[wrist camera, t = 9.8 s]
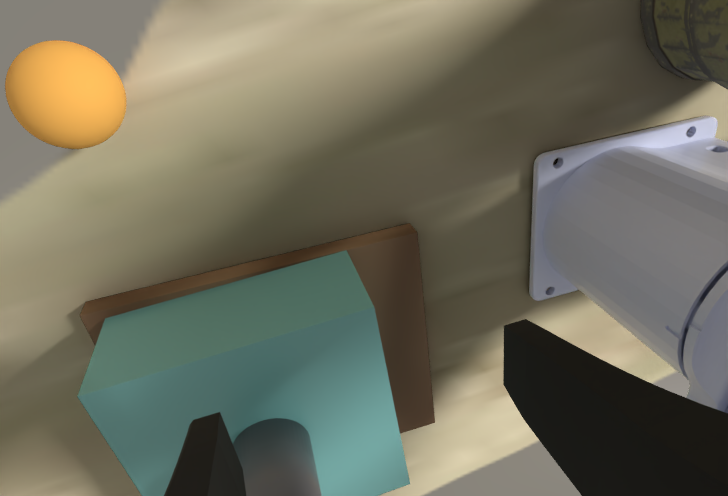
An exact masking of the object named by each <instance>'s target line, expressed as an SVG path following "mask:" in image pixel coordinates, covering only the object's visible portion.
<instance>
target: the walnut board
mask: <svg viewBox="0 0 728 496" xmlns="http://www.w3.org/2000/svg"><path fill="white" fill-rule="evenodd" d="M345 250H347V252H348V254H349V256H350V258H351V260H352V262H353V265H354V267H355V269H356V271H357V273H358V275H359V277H360V279H361V281H362V283H363V285H364V287H365V289H366V291H367V293H368V295H369V297H370V299H371V301H372V303H373V305H374V308H375V313H376V318H377V323H378V328H379V333H380V338H381V343H382V348H383V353H384V358H385V363H386V367H387V372H388V377H389V382H390V387H391V392H392V397H393V402H394V407H395V412H396V417H397V422H398V427H399V432H400V433H403V432H406V431H409V430H413V429H416V428H419V427H422V426H425V425H429V424H432V423H435V418H434V408H433V397H432V386H431V375H430V364H429V353H428V343H427V332H426V321H425V310H424V299H423V288H422V278H421V267H420V256H419V245H418V234H417V231H416V230H415V229H414V228H413V227H412V225H411V224H410V223H408V224H404V225H400V226H396V227H392V228H388V229H384V230H380V231H375V232H371V233H367V234H363V235H359V236H355V237H351V238H347V239H343V240H338V241H334V242H330V243H326V244H322V245H318V246H314V247H310V248H305V249H301V250H297V251H293V252H289V253H285V254H281V255H277V256H273V257H268V258H264V259H260V260H256V261H252V262H248V263H244V264H240V265H236V266H231V267H227V268H223V269H219V270H215V271H211V272H207V273H203V274H199V275H194V276H190V277H186V278H182V279H178V280H174V281H170V282H166V283H161V284H157V285H153V286H149V287H145V288H141V289H137V290H133V291H129V292H124V293H120V294H116V295H112V296H108V297H104V298H100V299H96V300H92V301H87V302H85V305H84V307H83V309H82V312H81V314H80V317H81V319H82V321H83V323H84V325H85V327H86V329H87V331H88V333H89V334H90V336H91V338H92V340H93V342H94V344H95V346H96V343H97V340H98V337H99V334H100V331H101V329H102V326H103V323H104V320H105V318H108V317H112V316H115V315H119V314H122V313H126V312H129V311H133V310H136V309H140V308H144V307H147V306H151V305H154V304H158V303H161V302H165V301H168V300H172V299H175V298H179V297H182V296H186V295H189V294H193V293H197V292H200V291H204V290H207V289H211V288H214V287H218V286H221V285H225V284H228V283H232V282H235V281H239V280H242V279H246V278H249V277H253V276H257V275H260V274H264V273H267V272H271V271H274V270H278V269H281V268H285V267H288V266H292V265H295V264H299V263H302V262H306V261H309V260H313V259H317V258H320V257H324V256H327V255H331V254H334V253H338V252H341V251H345Z"/></svg>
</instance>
